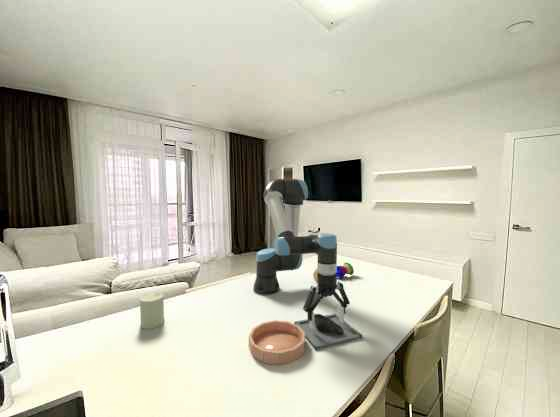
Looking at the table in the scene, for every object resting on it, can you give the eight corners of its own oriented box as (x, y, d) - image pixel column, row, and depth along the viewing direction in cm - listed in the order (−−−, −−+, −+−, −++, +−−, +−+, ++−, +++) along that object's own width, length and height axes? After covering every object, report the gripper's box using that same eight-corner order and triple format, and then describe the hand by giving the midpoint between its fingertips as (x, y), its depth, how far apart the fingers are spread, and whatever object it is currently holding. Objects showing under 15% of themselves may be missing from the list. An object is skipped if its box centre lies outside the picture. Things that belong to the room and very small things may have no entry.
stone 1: (336, 284, 149) (336, 268, 149) (324, 288, 143) (325, 271, 143) (321, 279, 159) (321, 264, 159) (310, 282, 153) (310, 266, 153)
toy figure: (340, 284, 157) (356, 276, 164) (340, 270, 155) (356, 263, 162) (331, 278, 165) (346, 271, 172) (330, 265, 163) (346, 259, 170)
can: (169, 319, 108) (168, 293, 107) (152, 330, 99) (151, 301, 98) (153, 316, 111) (152, 290, 110) (135, 326, 102) (134, 298, 101)
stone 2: (340, 339, 92) (340, 326, 91) (308, 328, 99) (308, 316, 99) (346, 331, 97) (346, 318, 97) (315, 321, 105) (316, 309, 104)
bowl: (244, 336, 95) (244, 326, 94) (291, 326, 102) (291, 317, 101) (257, 371, 76) (257, 358, 76) (314, 356, 83) (314, 344, 83)
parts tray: (294, 324, 103) (294, 321, 103) (335, 316, 110) (335, 313, 110) (315, 350, 86) (315, 346, 86) (362, 338, 93) (362, 335, 93)
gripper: (302, 279, 89) (302, 335, 90) (358, 272, 98) (358, 323, 99) (294, 273, 96) (294, 325, 97) (347, 267, 105) (347, 315, 106)
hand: (326, 324), depth 98 cm, fingers open, 13 cm apart
